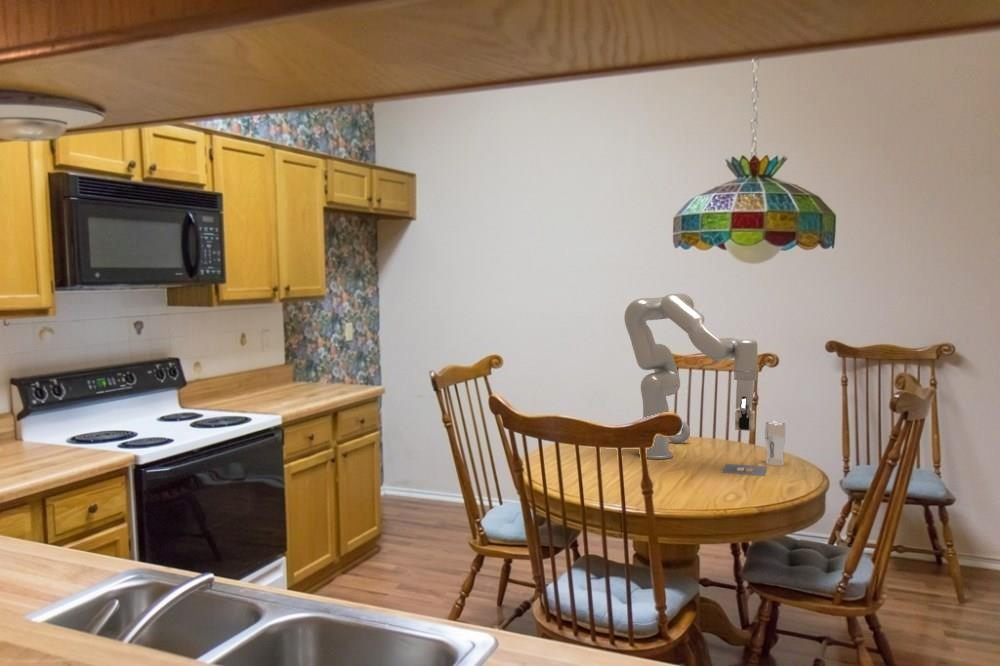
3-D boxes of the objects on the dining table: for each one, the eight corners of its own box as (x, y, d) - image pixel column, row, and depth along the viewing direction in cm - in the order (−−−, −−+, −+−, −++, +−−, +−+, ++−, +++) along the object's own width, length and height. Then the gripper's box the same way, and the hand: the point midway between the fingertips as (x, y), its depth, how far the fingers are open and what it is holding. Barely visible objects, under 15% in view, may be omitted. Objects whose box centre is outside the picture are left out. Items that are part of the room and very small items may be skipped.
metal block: (735, 429, 256) (735, 412, 256) (736, 426, 262) (736, 409, 261) (753, 431, 254) (753, 413, 254) (754, 427, 259) (754, 410, 259)
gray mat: (721, 474, 255) (721, 472, 255) (725, 464, 268) (725, 463, 268) (765, 477, 250) (765, 476, 250) (767, 468, 262) (767, 466, 262)
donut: (664, 443, 306) (664, 419, 305) (665, 441, 309) (665, 417, 308) (689, 444, 302) (689, 420, 302) (690, 443, 305) (690, 418, 305)
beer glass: (782, 462, 270) (782, 421, 269) (787, 467, 263) (788, 425, 262) (762, 462, 271) (762, 421, 270) (767, 466, 264) (767, 424, 263)
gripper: (736, 372, 266) (735, 422, 267) (731, 378, 250) (731, 431, 251) (758, 373, 263) (757, 423, 264) (755, 378, 247) (754, 432, 248)
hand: (744, 426), depth 258 cm, fingers closed on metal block, 6 cm apart
